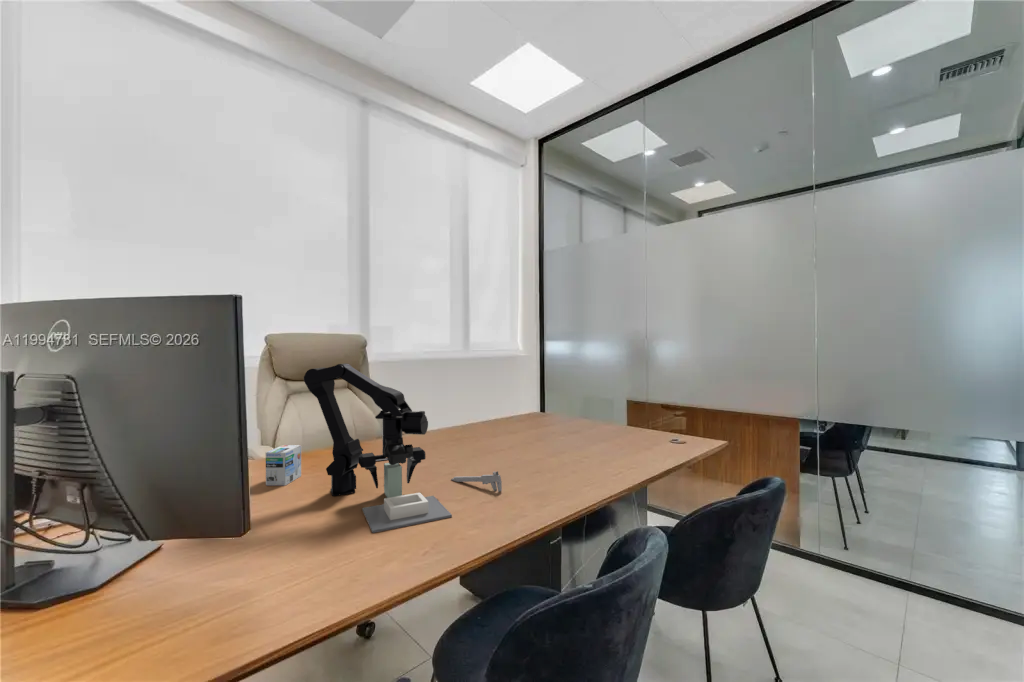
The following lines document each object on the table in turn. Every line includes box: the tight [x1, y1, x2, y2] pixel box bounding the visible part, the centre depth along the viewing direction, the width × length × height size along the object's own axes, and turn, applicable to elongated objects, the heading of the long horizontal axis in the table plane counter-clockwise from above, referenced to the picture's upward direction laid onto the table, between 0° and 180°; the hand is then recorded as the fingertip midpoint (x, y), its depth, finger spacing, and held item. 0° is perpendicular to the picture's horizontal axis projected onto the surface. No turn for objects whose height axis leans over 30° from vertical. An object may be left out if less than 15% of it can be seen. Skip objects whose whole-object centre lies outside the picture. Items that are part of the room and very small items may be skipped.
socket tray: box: [361, 492, 453, 534], centre depth 116 cm, size 20×16×4 cm
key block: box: [383, 462, 403, 498], centre depth 130 cm, size 4×6×9 cm, turn 27°
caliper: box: [450, 470, 503, 493], centre depth 138 cm, size 20×1×6 cm, turn 54°
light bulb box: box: [265, 444, 302, 486], centre depth 144 cm, size 11×7×11 cm, turn 179°
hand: (392, 485), depth 130 cm, fingers open, 9 cm apart
